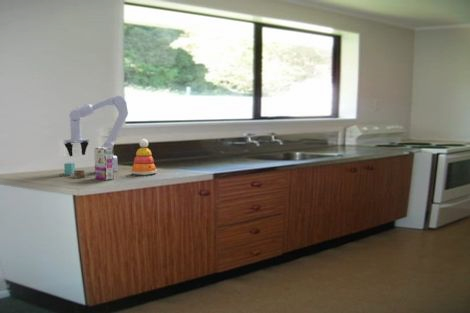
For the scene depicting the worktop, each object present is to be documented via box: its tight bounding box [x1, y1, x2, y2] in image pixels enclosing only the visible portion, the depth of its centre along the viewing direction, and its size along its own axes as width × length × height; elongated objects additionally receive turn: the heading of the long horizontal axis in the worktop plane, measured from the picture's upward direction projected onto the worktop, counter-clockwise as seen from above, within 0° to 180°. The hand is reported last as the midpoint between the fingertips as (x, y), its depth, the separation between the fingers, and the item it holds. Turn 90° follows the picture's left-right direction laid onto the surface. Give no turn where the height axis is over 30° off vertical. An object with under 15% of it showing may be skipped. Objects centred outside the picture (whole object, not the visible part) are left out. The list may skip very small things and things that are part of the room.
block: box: [63, 162, 76, 175], centre depth 267 cm, size 4×4×6 cm
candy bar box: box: [93, 146, 115, 181], centre depth 252 cm, size 11×5×16 cm, turn 45°
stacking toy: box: [130, 138, 158, 176], centre depth 268 cm, size 14×14×20 cm
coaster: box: [60, 172, 70, 177], centre depth 268 cm, size 9×9×1 cm
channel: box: [74, 169, 85, 179], centre depth 260 cm, size 5×7×3 cm
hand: (77, 155), depth 274 cm, fingers open, 7 cm apart
